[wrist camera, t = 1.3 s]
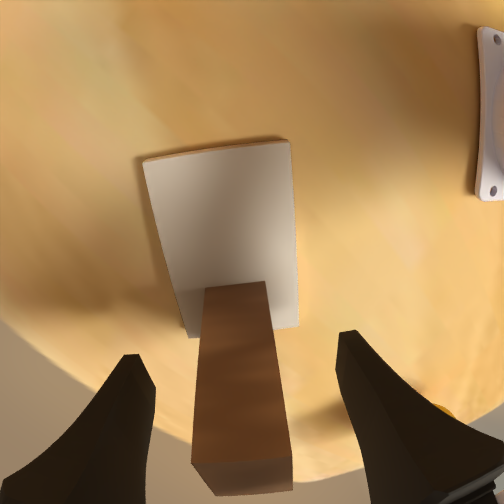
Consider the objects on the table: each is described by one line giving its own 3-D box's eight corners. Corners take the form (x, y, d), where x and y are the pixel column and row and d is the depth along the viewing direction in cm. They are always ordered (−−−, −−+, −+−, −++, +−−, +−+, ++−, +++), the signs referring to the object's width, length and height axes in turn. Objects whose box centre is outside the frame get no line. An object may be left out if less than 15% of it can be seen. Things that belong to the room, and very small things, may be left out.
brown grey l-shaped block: (286, 139, 11) (387, 250, 4) (297, 322, 15) (333, 483, 8) (146, 159, 11) (24, 292, 4) (191, 334, 15) (176, 495, 8)
